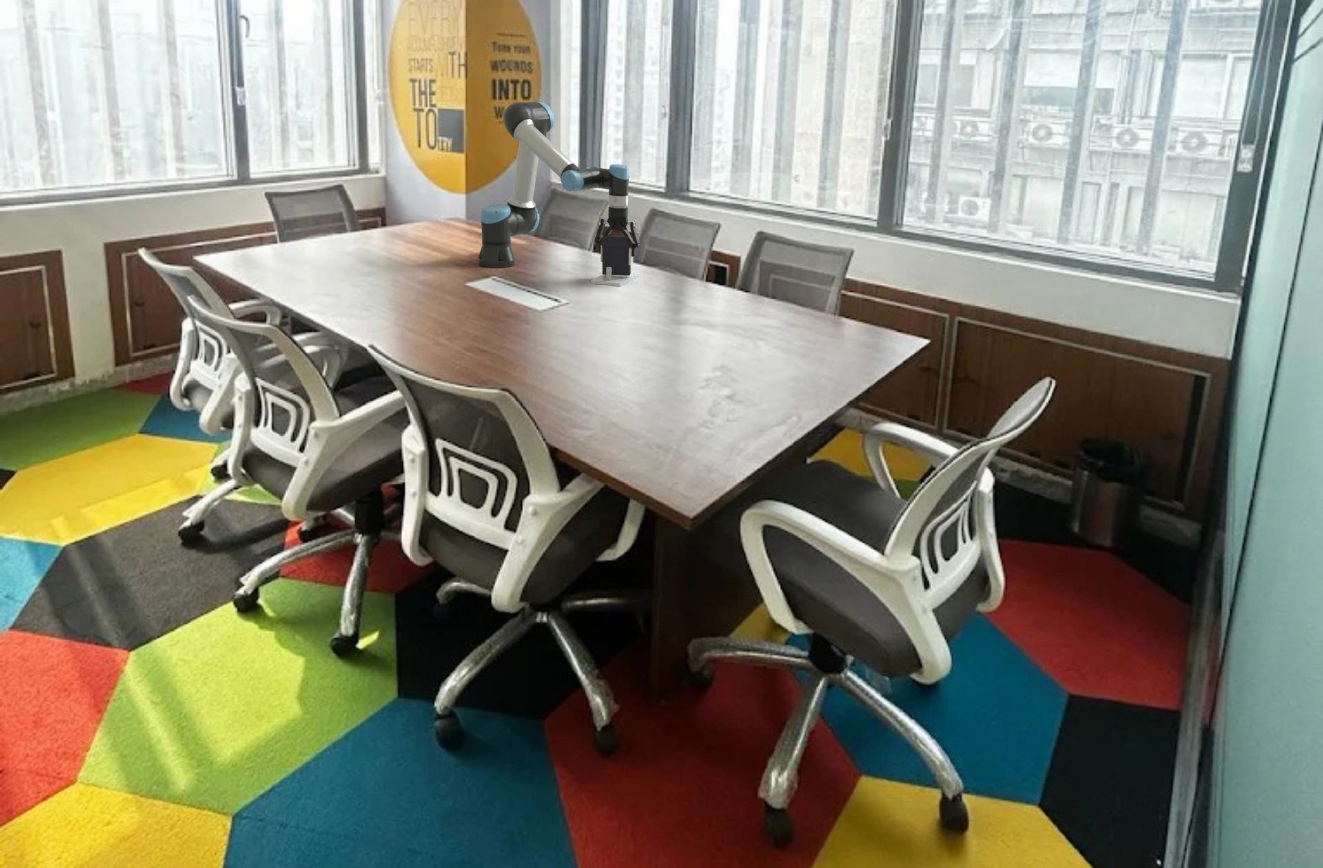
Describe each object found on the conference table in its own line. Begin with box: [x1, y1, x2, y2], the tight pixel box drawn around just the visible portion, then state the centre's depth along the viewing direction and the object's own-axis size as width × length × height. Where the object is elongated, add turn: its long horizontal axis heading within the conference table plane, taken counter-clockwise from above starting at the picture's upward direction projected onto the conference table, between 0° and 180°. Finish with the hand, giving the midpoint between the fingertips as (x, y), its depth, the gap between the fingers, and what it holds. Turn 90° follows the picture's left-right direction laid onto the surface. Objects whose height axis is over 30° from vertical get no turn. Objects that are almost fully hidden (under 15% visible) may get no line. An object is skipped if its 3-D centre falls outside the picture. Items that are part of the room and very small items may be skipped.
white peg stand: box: [590, 267, 642, 287], centre depth 378 cm, size 12×22×6 cm, turn 160°
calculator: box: [601, 235, 632, 276], centre depth 376 cm, size 11×4×15 cm, turn 84°
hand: (616, 263), depth 377 cm, fingers open, 11 cm apart
